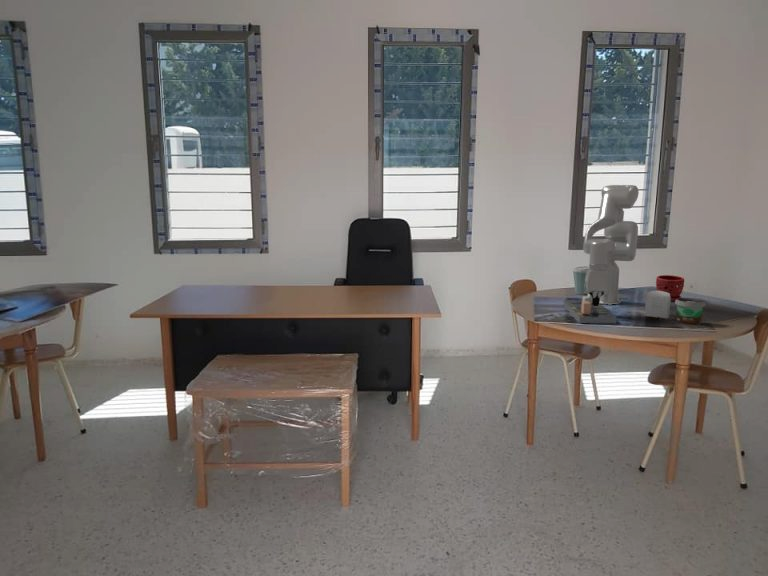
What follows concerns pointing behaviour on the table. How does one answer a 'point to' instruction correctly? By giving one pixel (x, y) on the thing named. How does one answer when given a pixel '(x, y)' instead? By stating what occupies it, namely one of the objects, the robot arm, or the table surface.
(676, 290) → the plant pot
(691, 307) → the food container
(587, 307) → the slider terracotta
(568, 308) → the grey slotted slider board
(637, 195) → the robot arm
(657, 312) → the photo printer
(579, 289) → the disposable coffee cup
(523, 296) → the table surface
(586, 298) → the slider sage
